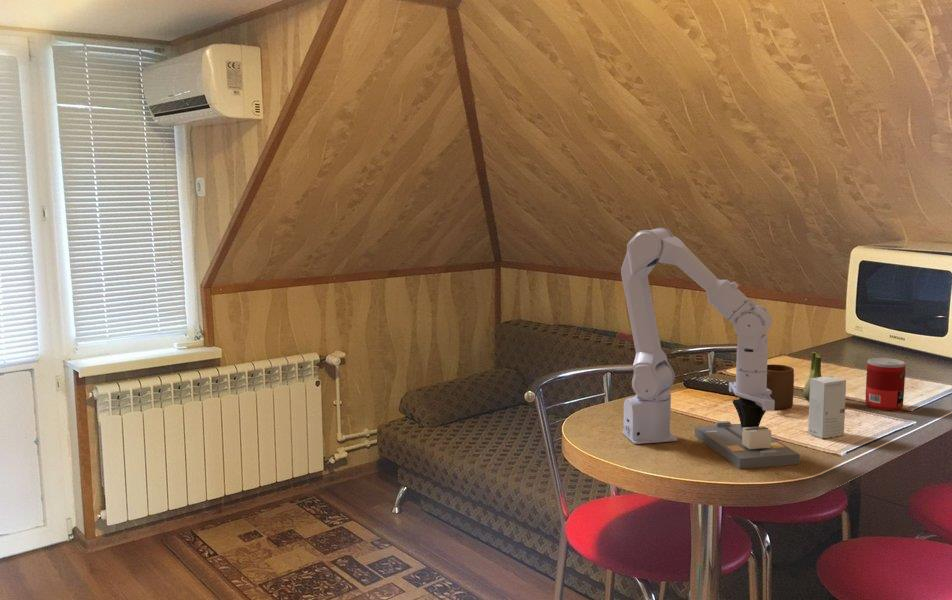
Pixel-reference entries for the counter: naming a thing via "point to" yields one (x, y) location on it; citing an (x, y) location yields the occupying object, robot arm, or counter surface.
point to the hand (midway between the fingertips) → (749, 436)
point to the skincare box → (827, 406)
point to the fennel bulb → (813, 373)
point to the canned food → (885, 384)
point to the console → (730, 446)
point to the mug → (781, 385)
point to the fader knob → (756, 437)
